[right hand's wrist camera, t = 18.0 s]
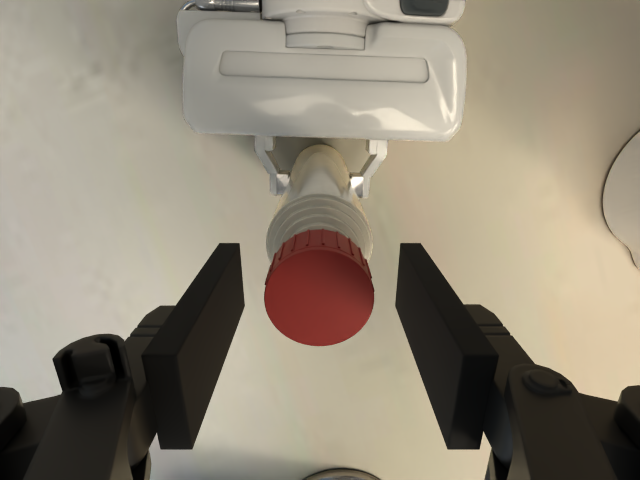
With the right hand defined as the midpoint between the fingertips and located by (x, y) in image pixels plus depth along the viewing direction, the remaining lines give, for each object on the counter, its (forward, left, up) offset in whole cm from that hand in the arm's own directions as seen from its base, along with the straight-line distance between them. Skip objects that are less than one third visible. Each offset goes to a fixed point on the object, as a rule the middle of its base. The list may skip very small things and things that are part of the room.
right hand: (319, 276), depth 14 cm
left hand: (-1, +1, -17) cm, 17 cm away
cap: (0, 0, +2) cm, 2 cm away
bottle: (0, 0, -23) cm, 23 cm away
